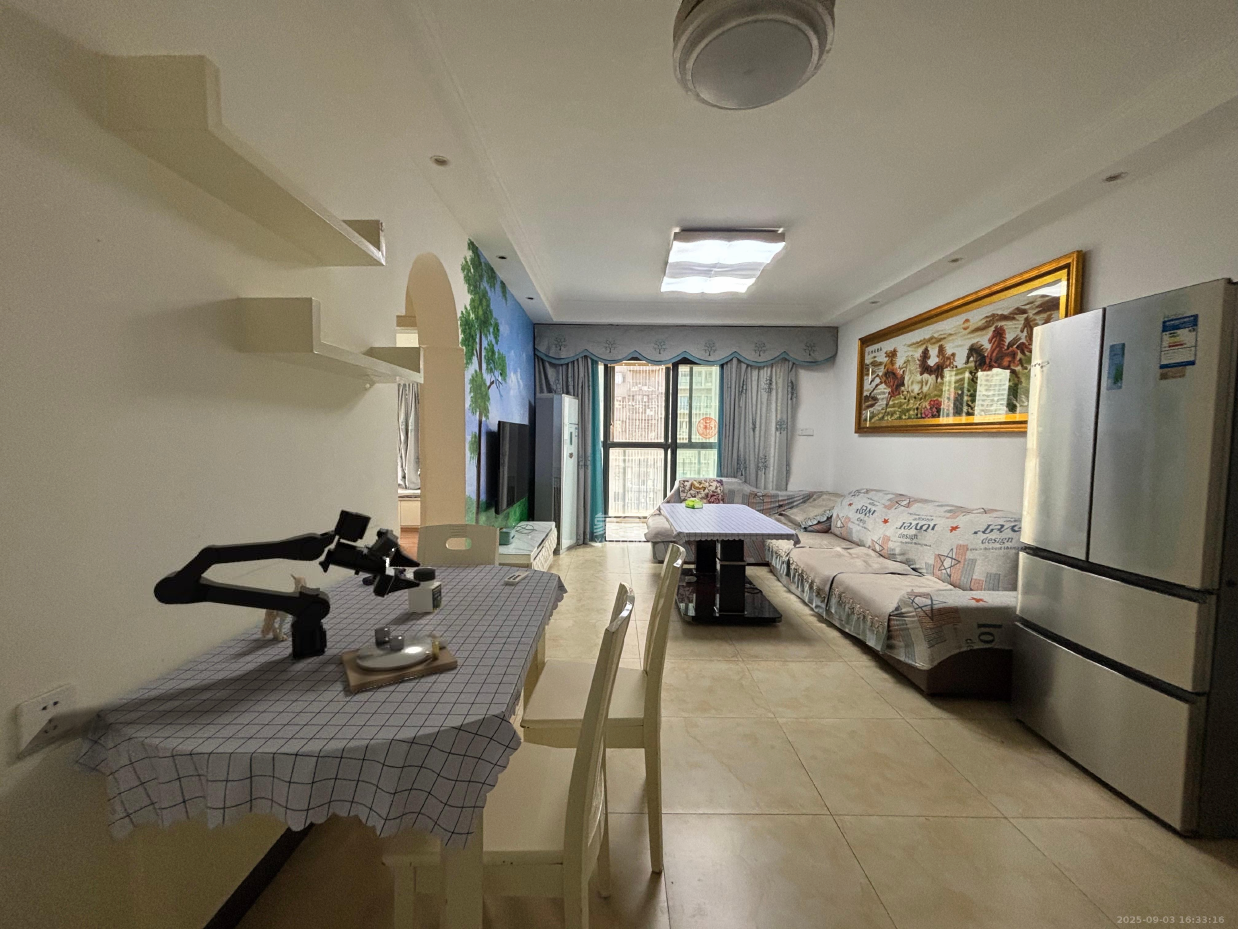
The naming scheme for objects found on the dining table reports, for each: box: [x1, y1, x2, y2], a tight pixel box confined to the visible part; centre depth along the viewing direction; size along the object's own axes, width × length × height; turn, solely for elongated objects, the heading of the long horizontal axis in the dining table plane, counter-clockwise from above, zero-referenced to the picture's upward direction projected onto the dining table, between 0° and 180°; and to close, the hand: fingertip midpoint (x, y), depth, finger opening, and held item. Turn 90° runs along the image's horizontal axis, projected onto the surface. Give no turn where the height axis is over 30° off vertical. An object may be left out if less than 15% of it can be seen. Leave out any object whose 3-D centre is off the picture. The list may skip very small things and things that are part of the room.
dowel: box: [432, 642, 439, 660], centre depth 111 cm, size 1×1×4 cm
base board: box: [340, 633, 459, 694], centre depth 114 cm, size 20×20×2 cm
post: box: [389, 634, 406, 651], centre depth 113 cm, size 3×3×2 cm
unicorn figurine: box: [260, 573, 308, 642], centre depth 135 cm, size 7×20×13 cm, turn 12°
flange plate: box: [356, 625, 449, 671], centre depth 114 cm, size 18×16×4 cm
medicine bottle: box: [407, 566, 443, 613], centre depth 152 cm, size 7×7×12 cm
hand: (419, 574), depth 132 cm, fingers open, 9 cm apart
